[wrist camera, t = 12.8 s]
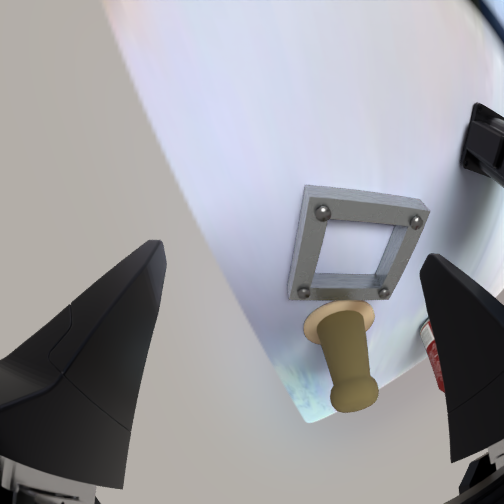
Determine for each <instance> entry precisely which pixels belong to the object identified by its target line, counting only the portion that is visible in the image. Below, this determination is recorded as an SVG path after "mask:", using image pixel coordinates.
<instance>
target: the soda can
mask: <svg viewBox="0 0 504 504" xmlns="http://www.w3.org/2000/svg"><path fill="white" fill-rule="evenodd" d="M420 335H421V338H422V341H423V343H424V346H425V349H426V351H427V354H428V357H429V360H430V362H431V365H432V368H433V371H434V374H435V377H436V380H437V383H438V387H439V389H440V390H441V391H443V392H444V393H445V390H444V384H443V378H442V372H441V367H440V362H439V357H438V353H437V348H436V344H435V340H434V336H433V332H432V328H431V324H430V320H429V318H428V319H427V321H426V322H425V323H424V325H423V326H422V328H421V330H420Z"/></svg>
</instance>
